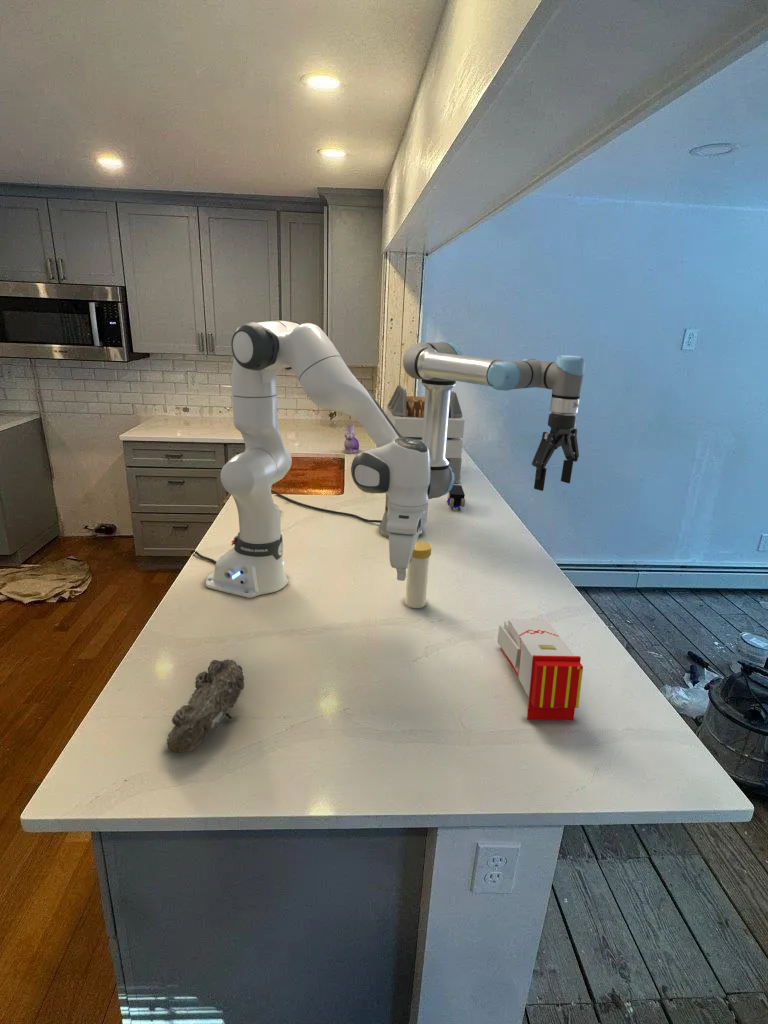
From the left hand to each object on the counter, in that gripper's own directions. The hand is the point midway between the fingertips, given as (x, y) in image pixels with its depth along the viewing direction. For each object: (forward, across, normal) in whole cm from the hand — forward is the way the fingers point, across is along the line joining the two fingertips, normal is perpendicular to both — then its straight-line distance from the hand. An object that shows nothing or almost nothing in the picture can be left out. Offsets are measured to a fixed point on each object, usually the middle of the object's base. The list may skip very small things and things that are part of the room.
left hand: (404, 570), depth 129 cm
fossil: (+19, +35, -31) cm, 50 cm away
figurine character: (+19, -103, +6) cm, 105 cm away
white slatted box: (+19, -148, -15) cm, 150 cm away
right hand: (-9, -49, +36) cm, 61 cm away
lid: (+2, -20, +1) cm, 20 cm away
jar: (+19, -20, +1) cm, 27 cm away
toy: (+19, +7, +30) cm, 36 cm away
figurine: (+18, -178, -56) cm, 188 cm away
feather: (+18, -74, -58) cm, 95 cm away
